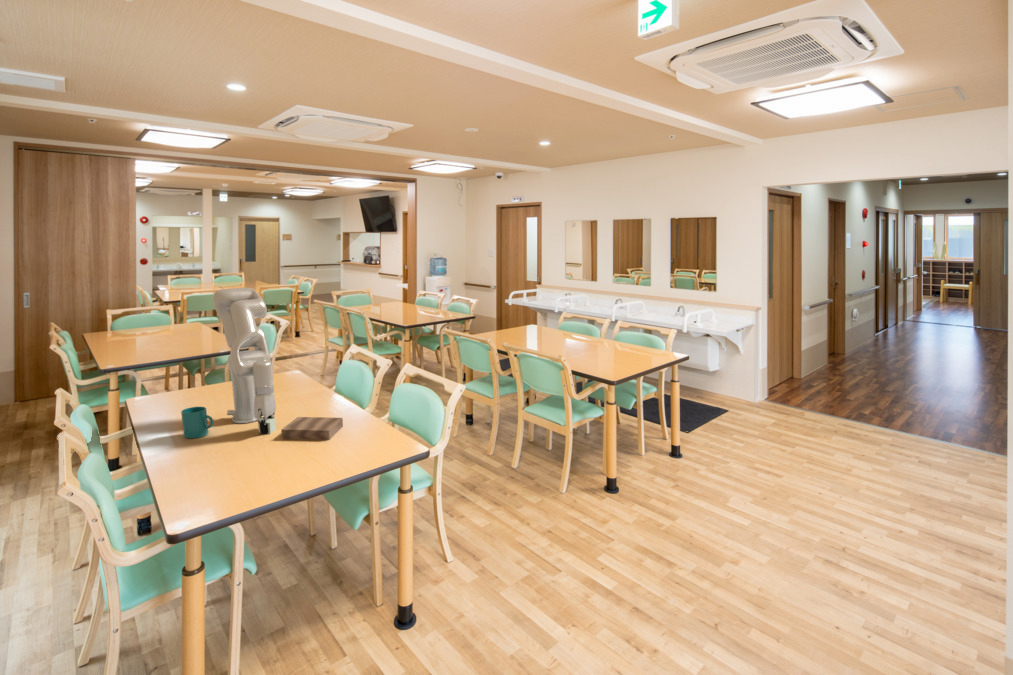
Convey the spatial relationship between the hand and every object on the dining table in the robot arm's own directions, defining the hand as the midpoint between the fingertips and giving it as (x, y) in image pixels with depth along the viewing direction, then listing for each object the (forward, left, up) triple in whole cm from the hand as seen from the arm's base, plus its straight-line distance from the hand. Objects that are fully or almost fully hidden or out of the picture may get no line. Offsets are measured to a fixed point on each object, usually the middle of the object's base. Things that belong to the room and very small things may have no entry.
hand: (267, 430), depth 229 cm
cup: (-26, -6, -1) cm, 27 cm away
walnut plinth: (+20, 0, 0) cm, 20 cm away
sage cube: (0, 0, -1) cm, 1 cm away
